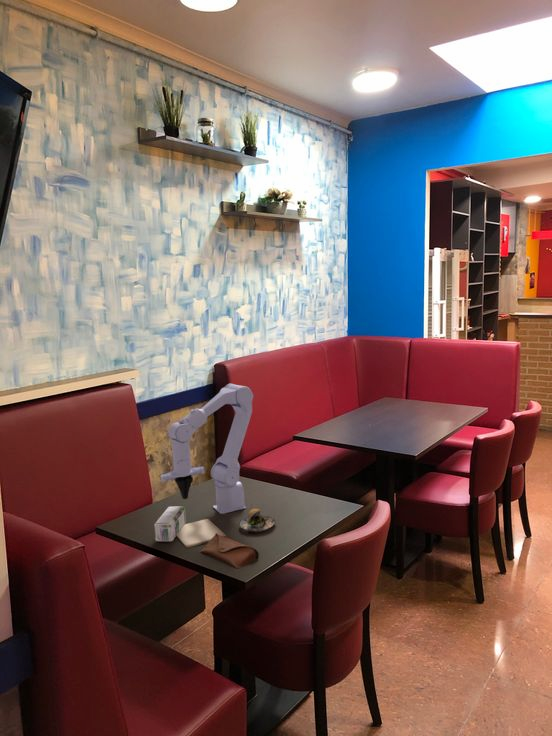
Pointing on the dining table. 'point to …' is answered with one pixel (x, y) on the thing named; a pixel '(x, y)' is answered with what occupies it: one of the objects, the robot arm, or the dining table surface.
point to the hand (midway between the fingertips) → (184, 498)
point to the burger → (255, 522)
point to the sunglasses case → (230, 551)
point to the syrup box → (170, 523)
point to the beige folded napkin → (198, 533)
